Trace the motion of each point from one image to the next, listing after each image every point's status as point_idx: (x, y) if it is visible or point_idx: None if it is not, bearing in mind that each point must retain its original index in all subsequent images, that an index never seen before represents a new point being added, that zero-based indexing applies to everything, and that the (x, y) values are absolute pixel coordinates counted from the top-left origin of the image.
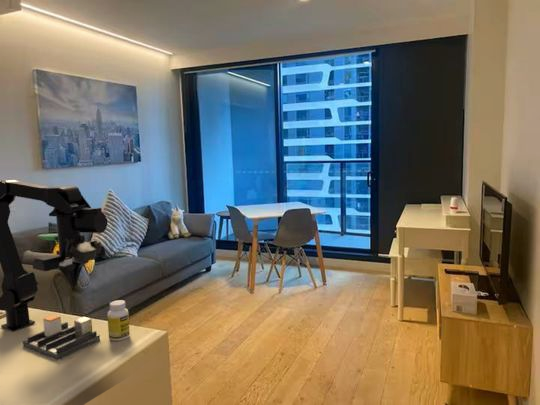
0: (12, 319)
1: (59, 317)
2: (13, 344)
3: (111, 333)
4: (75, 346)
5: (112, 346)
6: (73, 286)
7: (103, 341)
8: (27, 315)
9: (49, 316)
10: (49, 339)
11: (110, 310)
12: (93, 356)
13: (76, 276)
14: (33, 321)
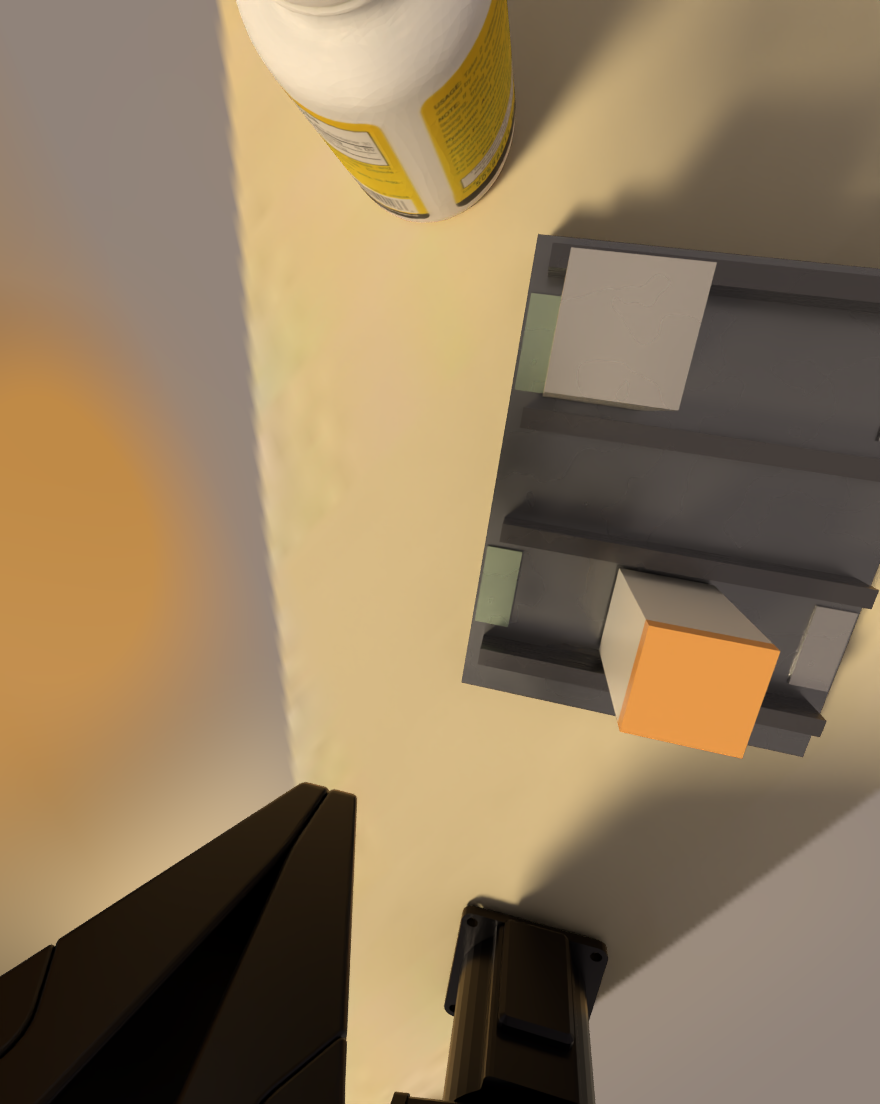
0: (584, 1034)
1: (660, 626)
2: (764, 815)
3: (511, 89)
4: (795, 260)
5: (600, 26)
6: (354, 800)
7: (543, 201)
8: (515, 985)
9: (682, 733)
10: (764, 566)
11: (398, 16)
12: (817, 30)
13: (172, 946)
14: (467, 922)
